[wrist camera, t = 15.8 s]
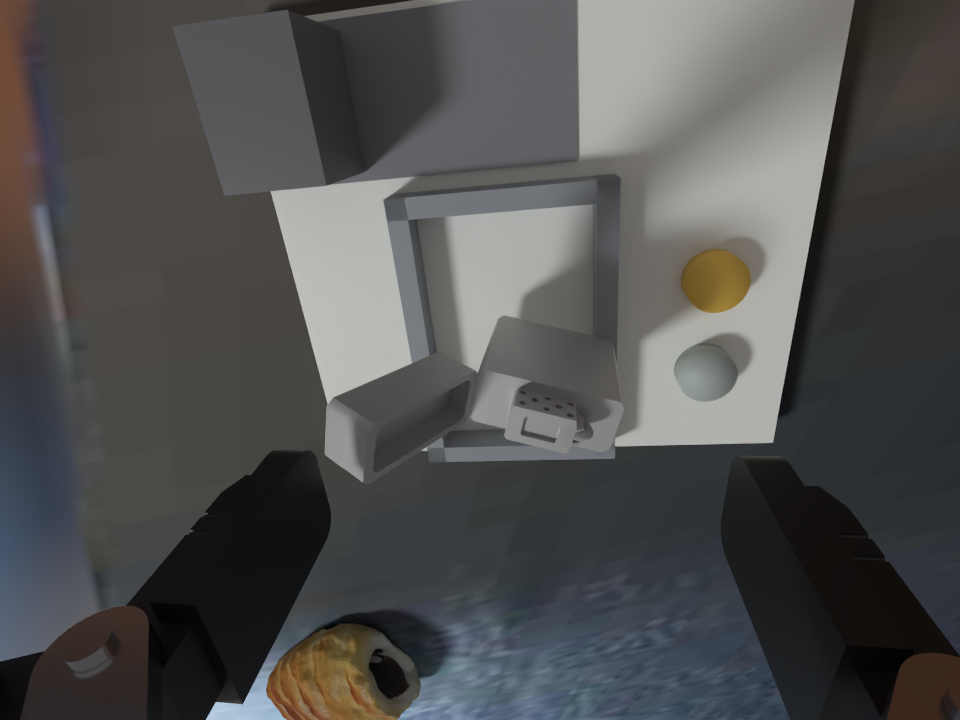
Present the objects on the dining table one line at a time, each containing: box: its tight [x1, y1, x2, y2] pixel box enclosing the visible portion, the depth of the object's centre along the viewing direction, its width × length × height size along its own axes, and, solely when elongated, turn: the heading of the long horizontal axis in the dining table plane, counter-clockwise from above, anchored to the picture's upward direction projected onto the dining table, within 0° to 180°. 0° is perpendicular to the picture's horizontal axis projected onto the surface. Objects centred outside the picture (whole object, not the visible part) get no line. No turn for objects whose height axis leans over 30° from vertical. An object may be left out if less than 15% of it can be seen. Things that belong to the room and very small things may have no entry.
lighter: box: [325, 315, 625, 484], centre depth 15 cm, size 7×2×8 cm, turn 80°
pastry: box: [266, 623, 421, 720], centre depth 30 cm, size 9×7×4 cm
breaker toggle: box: [173, 10, 365, 196], centre depth 15 cm, size 3×4×4 cm
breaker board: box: [271, 0, 855, 462], centre depth 18 cm, size 18×16×2 cm
